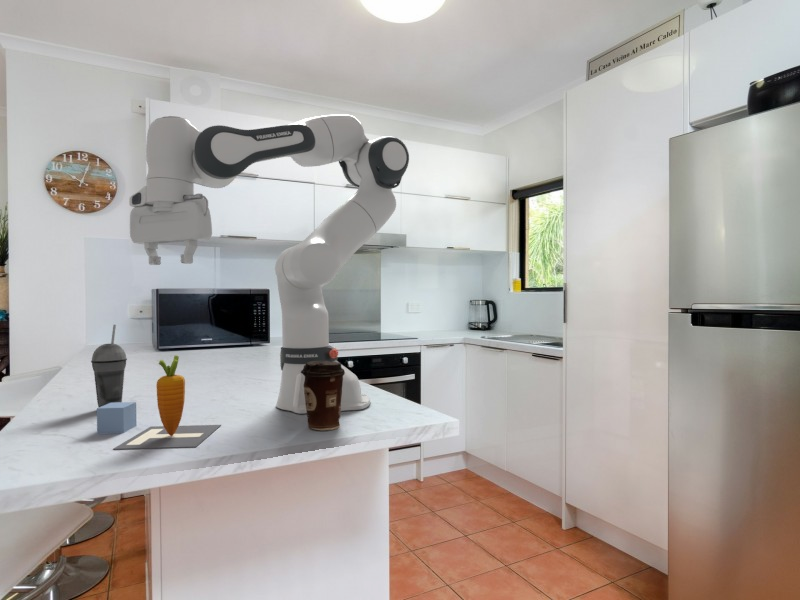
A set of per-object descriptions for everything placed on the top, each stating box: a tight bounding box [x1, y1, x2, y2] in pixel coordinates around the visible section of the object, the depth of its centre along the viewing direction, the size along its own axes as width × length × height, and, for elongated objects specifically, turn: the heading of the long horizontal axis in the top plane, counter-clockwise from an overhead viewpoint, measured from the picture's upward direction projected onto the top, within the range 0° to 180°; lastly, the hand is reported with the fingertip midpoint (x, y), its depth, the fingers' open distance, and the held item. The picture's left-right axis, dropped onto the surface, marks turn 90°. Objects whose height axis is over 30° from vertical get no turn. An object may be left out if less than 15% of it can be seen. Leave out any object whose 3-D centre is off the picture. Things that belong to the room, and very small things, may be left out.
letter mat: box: [112, 424, 222, 451], centre depth 89 cm, size 14×14×1 cm
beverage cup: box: [90, 324, 128, 408], centre depth 111 cm, size 7×7×20 cm
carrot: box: [156, 355, 186, 436], centre depth 89 cm, size 5×5×15 cm
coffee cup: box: [301, 361, 345, 432], centre depth 95 cm, size 9×8×13 cm
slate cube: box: [96, 401, 137, 434], centre depth 94 cm, size 5×5×5 cm
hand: (170, 264), depth 97 cm, fingers open, 8 cm apart
